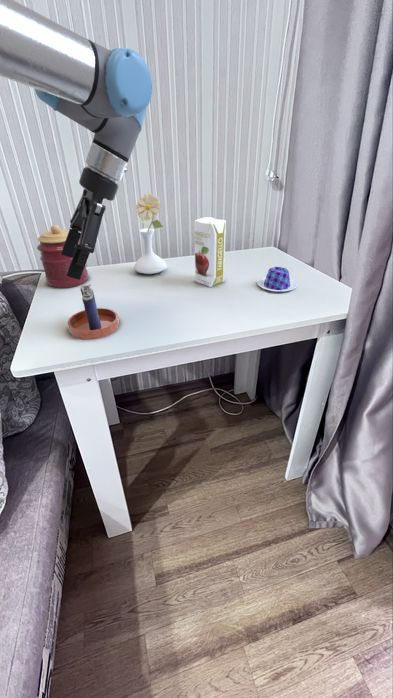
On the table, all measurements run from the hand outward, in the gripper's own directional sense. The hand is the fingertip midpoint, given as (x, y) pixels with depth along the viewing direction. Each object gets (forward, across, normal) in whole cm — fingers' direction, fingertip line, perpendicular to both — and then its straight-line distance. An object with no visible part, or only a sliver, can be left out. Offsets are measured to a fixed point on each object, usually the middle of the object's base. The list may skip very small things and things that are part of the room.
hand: (69, 266), depth 75 cm
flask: (+11, -5, -9) cm, 15 cm away
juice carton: (-7, +9, -43) cm, 45 cm away
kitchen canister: (+15, +30, -7) cm, 34 cm away
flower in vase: (+1, +26, -31) cm, 41 cm away
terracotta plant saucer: (+11, -5, -9) cm, 15 cm away
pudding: (-16, -2, -58) cm, 60 cm away
